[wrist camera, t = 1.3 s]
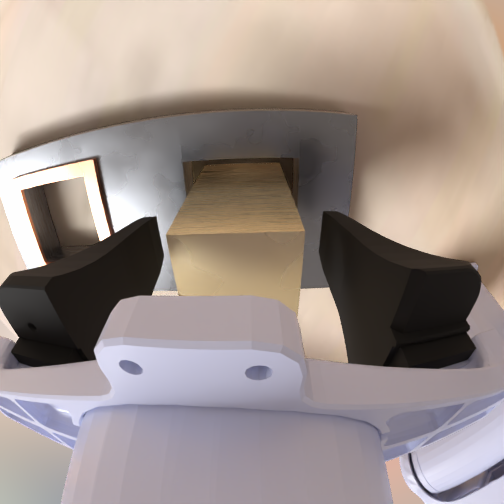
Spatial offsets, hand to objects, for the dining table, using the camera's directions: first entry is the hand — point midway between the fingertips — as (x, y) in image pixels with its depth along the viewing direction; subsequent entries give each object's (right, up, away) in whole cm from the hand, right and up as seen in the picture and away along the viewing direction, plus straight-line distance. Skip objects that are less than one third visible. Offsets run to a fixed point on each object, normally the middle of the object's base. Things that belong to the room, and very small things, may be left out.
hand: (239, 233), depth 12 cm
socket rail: (-5, +2, +4) cm, 7 cm away
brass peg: (0, +2, +4) cm, 4 cm away
